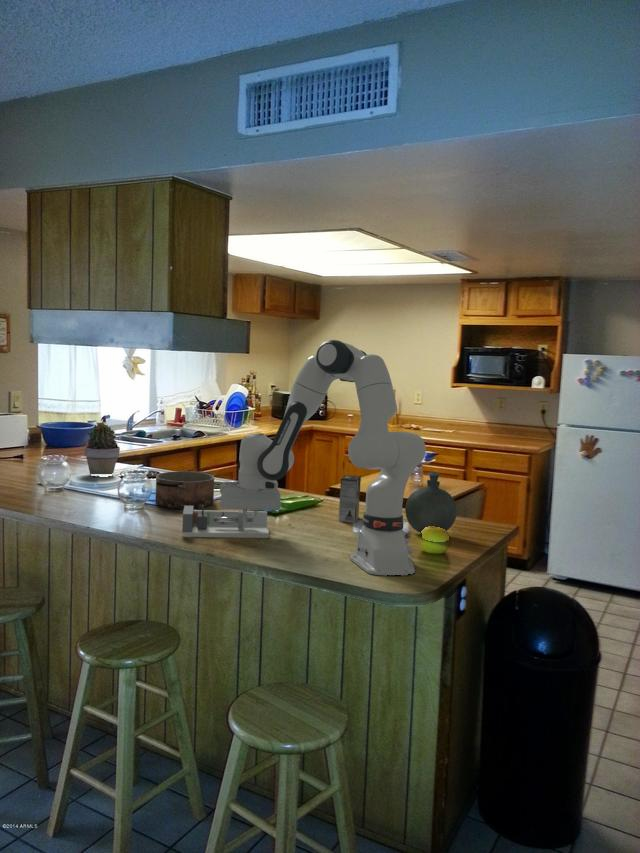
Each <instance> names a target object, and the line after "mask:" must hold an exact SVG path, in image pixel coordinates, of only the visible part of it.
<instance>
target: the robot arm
mask: <svg viewBox="0 0 640 853" xmlns="http://www.w3.org/2000/svg"><path fill="white" fill-rule="evenodd" d="M335 380H339V381H341V382H348V383H354V384H355V389H356V390H355V391H356V396H357V400H358V405H359V412H360V422H359V428H358V430H357V432H356V434H355V435H354V436H353V437H352V438H351V440H350V441H349V444H348V447H347V448H348V449H347V451H348V452H347V453H348V454H347V455H348V458H349V460H350V462H351V463H352V465H353V466H354V467H356V468H359V469H364V470H365V469H366V470H380V472H379V474H378V475H377V477H376V478H375V479H374V480H373V481H371V482H370V483H369V484H368V486H367V488H366V495H365V507H364V508H365V511H364V512H363V516H362V524H363V525H362V527H361V528H360V530H357V534H356V543H355V553H353V554H351V555H350V556H349V560H351V561H352V562H353V563H355V564H356V565H357V566H358V567H360V568H361V569H362V570H364V572H366V573H367V574H370V575H377V576H387V575H390V576H391V575H393V576H394V575H401V576H409V575H408V574H411V575H414V574H413V573H416V572H415V567H414V564H413V560H412V557H411V555H412V554H413V546H411V545H408V544H409V543H410V542H409V539H408V538H406V532H405V531H404V530H403V529H404V515H403V506H404V504H403V503H404V496H405V491H406V490H405V489H406V486H407V483H408V481H409V479H410V476H411V474H412V473H413V471H414V470H415V469H416V468H417V467H418V465H420V464H421V463H422V462H423V460H424V459H425V457H426V456H425V455H426V453H427V452H426V451H427V450H426V449H427V448H426V444H425V441H424V439H423V438H422V436H420V435H419V434H417V433H416V434H415V433H412V432H408V431H389V428H388V422H389V421H390V420H391V419H393V417H394V416H395V414H396V413H397V410H398V404H397V401H396V396H395V392H394V386H393V383H392V378H391V376H390V372H389V370H388V367H387V364H386V363H385V360H384V359H383V358H382V357H381V356H379V355H377V354H367V353H366V351H365V352H364V351H363V350H360V349H359V348H357V347H355V346H354V345H352V344H350V343H347V342H342V341H341V340H338V339H328V340H326V341H324V342H322V343H321V344H320V345H319V347H318V348H317V350H316V354H313V355H311V356H309V357H308V358H307V359H306V360H305V361H304V363H303V365H302V367H301V368H300V370H299V372H298V373H297V375H296V378H295V379H294V383H293V384H292V387H291V391H290V393H289V397H288V401H287V405H286V407H285V408H286V409H285V411H284V415H283V418H282V420H281V422H280V424H279V427H278V428H277V431H276V433H275V436H274V438H273V440H272V439H271V438H269V437H268V436H267V435H266V434H265V433H260V432H259V433H258V432H257V433H251V434H246V435H245V436H243V437H242V439H241V441H240V447H239V459H238V461H239V469H238V480H237V481H235V480H233V481H231V480H230V481H229V480H225V481H224V482H222V483H220V485H219V494H221V496H220V500H219V501H220V502H219V506H220V508H221V509H222V510H243V514H244V516H245V517H246V523H254V518H255V516H256V515H257V513H258V511H279V510H280V509H281V508H282V500H281V498H282V497H281V493H280V490H279V488H278V487H279V483H278V481H279V480H282V479H283V478H284V477H285V476H286V475H287V473H288V472H289V471H290V470H291V468H292V467H293V465H294V463H295V454H294V452H293V450H292V448H293V446H294V443H295V442H296V439H297V438H298V435H299V432H300V431H301V429H302V427H303V426H304V425H305V423H306V422H307V421H309V419H310V418H311V417H313V415H315V413H316V412H317V411H318V410H319V409H320V406H321V405H322V403H323V402H324V400H325V398H326V395H327V393H328V391H329V388H330V386H331V385H332V383H333V382H334V381H335ZM250 510H251V511H253V512H254V514H253V516H247V514H246V513H247V511H250ZM390 576H389V577H390ZM391 577H392V576H391Z"/></svg>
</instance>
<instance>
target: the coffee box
mask: <svg viewBox="0 0 640 853" xmlns="http://www.w3.org/2000/svg"><path fill="white" fill-rule="evenodd" d="M361 480H362V476H361V475H349V474H345V475H343V476H342V478H340V486H339V487H340V490H339V506H338V507H339V509H338V522H342V523H343V522H344V523H353V522H355V521H357V520H358V519H359V514H360V497H361ZM355 523H356V522H355Z"/></svg>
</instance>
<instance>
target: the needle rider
mask: <svg viewBox="0 0 640 853" xmlns="http://www.w3.org/2000/svg"><path fill="white" fill-rule="evenodd" d="M201 510H202V513H198V527H197V528H198V529H207V513H204V510H205V508H204V505H202V508H201Z"/></svg>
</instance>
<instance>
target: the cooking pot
mask: <svg viewBox="0 0 640 853" xmlns="http://www.w3.org/2000/svg"><path fill="white" fill-rule="evenodd" d="M214 497H215V476H214V475H213V473H210V472H205V471H187V470H186V471H184V470H182V471H180V470H178V471H177V470H175V471H167V472H160V473H158V474H156V476H155V503H156V505H158V506H160V507H162V508H167V509H173V510H174V509H175V510H184V506H194V507H193V510H199V509H202V505H204V509H205V508H208V507H211V506H212V505H213V504H214Z"/></svg>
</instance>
